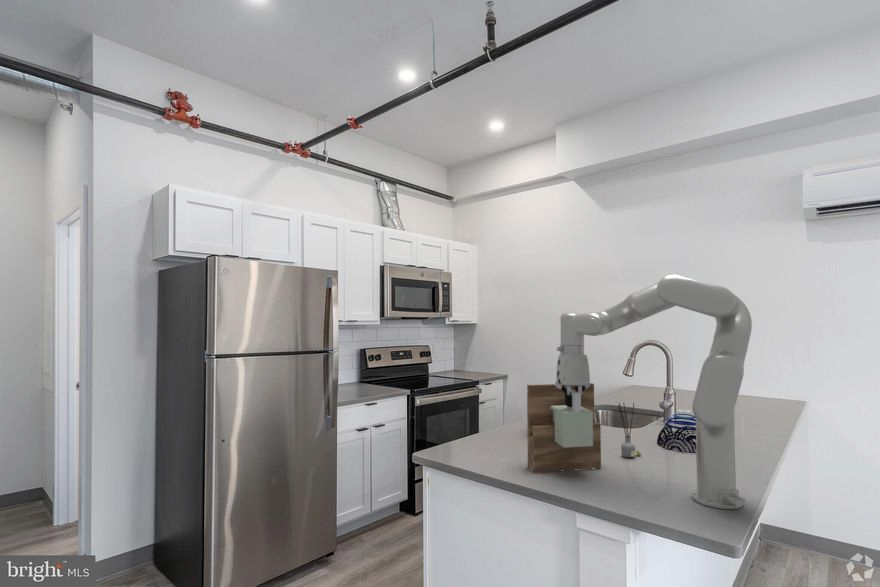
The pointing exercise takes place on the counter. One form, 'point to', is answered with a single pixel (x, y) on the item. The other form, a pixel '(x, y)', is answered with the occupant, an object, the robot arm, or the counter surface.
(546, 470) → the wooden board stand
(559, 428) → the pale green pegged cube
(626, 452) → the reed diffuser
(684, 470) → the counter surface
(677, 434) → the decorative bowl
